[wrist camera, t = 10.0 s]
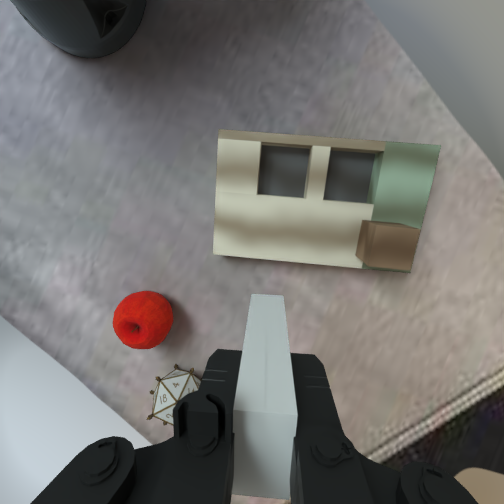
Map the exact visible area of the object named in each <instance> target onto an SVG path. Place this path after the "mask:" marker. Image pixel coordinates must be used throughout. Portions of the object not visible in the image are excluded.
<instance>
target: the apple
mask: <svg viewBox="0 0 504 504" xmlns="http://www.w3.org/2000/svg"><path fill="white" fill-rule="evenodd" d="M172 323H173V312H172V308H171V305H170V304H169V302H168V301H167V300H166V298H164V297H163V296H162V295H161V294H159V293H156V292H152V291H142V292H137V293H133V294H130V295H129V296H127V297H125V298H124V299H123V300H122V301H121V302H120V303H119V305H118V306H117V308H116V310H115V312H114V318H113V328H114V331H115V333H116V335H117V336H118V337H119V339H120V340H121V341H122V342H123V344H125V345H127V346H129V347H131V348H134V349H151V348H153V347H155V346H157V345H159V344H160V343H161V342H162V341H163V340H164V339H165V337H166V336H167V334H168V332H169V330H170V328H171V326H172Z"/></svg>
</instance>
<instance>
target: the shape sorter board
mask: <svg viewBox="0 0 504 504" xmlns="http://www.w3.org/2000/svg"><path fill="white" fill-rule="evenodd" d="M440 148H441V145H429V144H415V143H401V142H387V141H374V140H360V139H346V138H332V137H319V136H305V135H291V134H278V133H264V132H250V131H236V130H223V129H219V130H218V152H217V175H216V198H215V220H214V243H213V254H215V255H225V256H236V257H246V258H257V259H267V260H278V261H288V262H299V263H309V264H320V265H330V266H341V267H351V268H362V269H372V270H382V271H393V272H403V273H410V272H411V270H400V269H390V268H381V267H371V266H367V265H366V264H365V263H364V262H362V261H361V260H360V259H359V258H358V257H356V256H355V254H356V249H357V244H358V239H359V233H360V228H361V223H362V220H371V221H381V222H391V223H401V224H404V225H408V226H411V227H414V228H418V229H421V227H422V222H423V218H424V214H425V210H426V206H427V202H428V198H429V194H430V189H431V185H432V181H433V177H434V173H435V169H436V165H437V161H438V156H439V152H440ZM413 260H414V259H413ZM412 264H413V263H412ZM411 268H412V266H411Z"/></svg>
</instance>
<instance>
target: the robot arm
mask: <svg viewBox="0 0 504 504" xmlns="http://www.w3.org/2000/svg"><path fill="white" fill-rule="evenodd" d="M10 1H11V2H12V3H13V4H14V5H15V6H16V8H17V9H18V11H19V12H20V14H21V15H22V16H23V17H24V19H25V20H26V21H27V22H28V23H29V25H30V26H31V27H32V28H33V29H34V30H36V31H37V32H38V33H39V34H40V35H41V36H43V37H44V38H45V39H47V40H48V41H50V42H51V43H53V44H54V45H56V46H57V47H59V48H60V49H62V50H64V51H66V52H68V53H70V54H73V55H76V56H79V57H86V58H96V57H102V56H106V55H108V54H111V53H113V52H115V51H116V50H118V49H119V48H121V47H122V46H123V45H124V44H126V43H127V42H128V40H129V39H130V38H131V37H132V35H133V34H134V33H135V31H136V29H137V27H138V26H139V23H140V21H141V19H142V16H143V13H144V9H145V4H146V0H10ZM173 426H174V436H173V437H172V438H170V439H168V440H167V441H165V442H162V443H159V444H156V445H152V446H147V447H144V448H139V449H135V450H134V448H133V445H132V443H131V442H130V441H128V440H127V439H125V438H123V437H115V436H113V437H108V438H103V439H100V440H98V441H96V442H95V443H93V444H90V445H88V446H87V447H86V448H85V449H84V450H83V451H81V452H80V453H79V454H78V455H76V456H75V458H74V459H73V460H72V461H71V462H70V463H69V464H68V465H67V466H66V467H65V468H64V469H63V470H62V471H61V472H60V473H59V474H58V475H57V476H56V477H55V478H54V479H53V481H52V482H51V483H50V484H49V485H48V486H47V487H46V488H45V489H44V490H43V491H42V492H41V493H40V494H39V495H38V496H37V497H36V498H35V499H34V501H32V503H31V504H230V503H231V495H232V494H235V495H245V496H255V497H265V498H276V499H286V500H289V498H290V496H291V504H478V503H477V502H476V501H475V499H474V498H473V497H472V495H471V494H470V493H469V492H468V491H467V490H466V489H465V488H464V487H463V486H462V485H461V484H460V483H459V482H458V481H457V480H456V479H455V478H454V477H453V476H451V475H450V474H448V473H447V472H445V471H444V470H442V469H441V468H439V467H436V466H434V465H431V464H428V463H426V462H411V463H409V464H407V465H405V466H404V468H403V470H402V472H398V471H396V470H393V469H391V468H388V467H386V466H383V465H381V464H378V463H376V462H374V461H372V460H370V459H368V458H366V457H365V456H363V455H362V454H361V453H359V452H358V451H357V450H356V449H355V447H354V446H353V444H352V442H351V441H350V440H349V439H348V438H347V437H346V436H345V435H344V432H343V430H342V427H341V423H340V420H339V417H338V413H337V410H336V406H335V403H334V400H333V396H332V393H331V389H330V386H329V382H328V379H327V376H326V372H325V369H324V365H323V364H322V363H321V362H320V360H319V359H318V358H317V357H316V356H315V355H312V354H297V353H290V348H289V339H288V331H287V323H286V314H285V306H284V298H283V296H281V295H264V294H251V300H250V307H249V313H248V319H247V326H246V332H245V338H244V345H243V351H239V350H224V349H217V350H216V351H215V352H214V353H213V354H212V355H211V356H210V357H209V360H208V362H207V365H206V368H205V371H204V374H203V377H202V380H201V383H200V386H199V389H198V390H197V391H194V392H191V393H189V394H187V395H185V396H184V397H183V398H181V399H180V400H179V401H178V402H177V404H176V405H175V407H174V408H173Z"/></svg>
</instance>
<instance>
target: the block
mask: <svg viewBox="0 0 504 504" xmlns="http://www.w3.org/2000/svg"><path fill="white" fill-rule="evenodd" d="M420 231H421V229H418V228H414V227H411V226H408V225H404V224H401V223H391V222H381V221H371V220H362V223H361V228H360V233H359V239H358V244H357V249H356V254H355V256H356V257H358V258H359V259H360V260H361V261H362V262H364V263H365V264H366V265H367V266H371V267H381V268H390V269H400V270H411V266H412V263H413V259H414V255H415V251H416V247H417V243H418V239H419V235H420Z"/></svg>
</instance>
